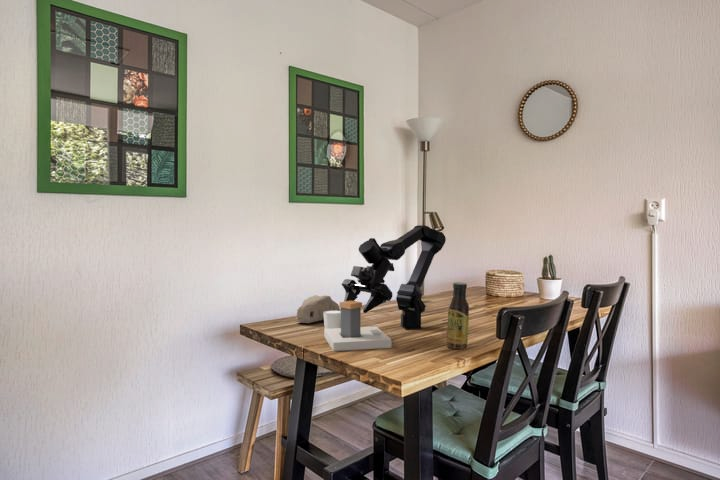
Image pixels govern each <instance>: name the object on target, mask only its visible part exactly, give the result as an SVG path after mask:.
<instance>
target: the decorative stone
mask: <svg viewBox="0 0 720 480" xmlns="http://www.w3.org/2000/svg"><path fill="white" fill-rule="evenodd" d="M330 310H337V311H341V307H340V304H339V303H337V302H336V301H334V300H333V299H332V297H331V296H329V295H313V296H309V297H307V298H306V299H304V300H303V301H302V303H301V306H299V307H298V308H297V312H296V318H295V322H297V323H302V324H312V323H316V322H320V321H324V314H323V312H325V311H330Z"/></svg>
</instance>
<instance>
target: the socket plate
mask: <svg viewBox="0 0 720 480" xmlns="http://www.w3.org/2000/svg"><path fill="white" fill-rule="evenodd" d="M323 332H324V335H323V337H324V338H325V340H326V341H327V343H328V345H329V346H330V348H331V350H332V351H333V352H339V351H340V352H341V351H358V350H370V349H371V350H372V349H389V348H391V349H392V338H391V337H389V335H387V334H386V333H385V332H383V330H381V329H379V327H377V326H360V337H354V338H342V336H341V328H333V329H325V328H324V331H323Z"/></svg>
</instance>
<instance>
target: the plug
mask: <svg viewBox="0 0 720 480" xmlns="http://www.w3.org/2000/svg"><path fill="white" fill-rule="evenodd" d="M339 307H340V311H341V336H342V338H354V337H360V327H361V324H362V323H361V322H362V321H361V319H362V317H361V315H362V313H361V308H362V307H363V302H362V301H356V300H354V301H345V302H344V301H339Z"/></svg>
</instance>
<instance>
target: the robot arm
mask: <svg viewBox="0 0 720 480" xmlns="http://www.w3.org/2000/svg"><path fill="white" fill-rule="evenodd" d="M446 240H447V239H446V236H445V234H444V233H443V232H442V231H439V230H436V229H434V228H431V227H430V226H428V225H425V224H424V225H423V224H422V225H421V224H419V225H416V226H414V227H413V228H412V229H410V230H409V231H407V232H405V233H404V234H403V235H401V236H400V237H397V238H396V239H393V240H388V241H385V242H382V243H381V244H378V242H377V240H376V238H374V237H373V238H372V237H371V238H369V239H368V240H366V241H364V242H363V243H361V244H360V245H359V246H358V252H359V254H361V255H360V256H362V257H363V259H365V261H366V262H367V263H368V264H370V265H371V266H370V265H367V266H366V267H365V266H359V265H353V267H352V270H351V273H350V276H351V277H355V278H356V279H357V280H355V279H349V278H347V279H346V278H345V279H343V281H342V283H341V286H342V287H343V289H344V290H345V295H344V300H343V302H345V301H356V300H357V299H358V295H360V294H361V292H363V293H364V292H365V293H367V294H368V293H370V297H369V298H368V300H367V302H366V304H365V305H364V308H363V310H362V313H364V314H367V313H369V312H370V311H371V310H373V309H375V308H376V307H378V306H380V305H382V304H383V303H386V302H391V300H392V298H393V292H392V291H391V289H390V287H388V285H387V284H386V283H385V282H386V281H385V277H386V276H387V274H388V272H395V267H394V263H393V262H391V261H398V260H400V259H401V258H402V257H403V256H404V255H405V253H406V250H407V249H409V248H410V247H411V246H413V245H414V244H415V243H417V242H419V241H420V245H421V252H420V255H419V257H418V259H417V261H416V263H415V265H414V268H413V269H412V273H411V274H410V277H409V280H408V281H407V283H401V284H400V285H399V288H398V291H397V292H396V303H397V304H396V305H397V309H398V310H399V311H401V313H402V314H400V327H402V328H403V329H404V330H422V329H423V326H422V314H423V313H425V312H426V307H427V306H426V304H425V303H424V301H423V300H422V296H423V295H422V294H423V293H422V286H423V283H424V281H425V279H426V276H427V274H428V271H429V269H430V266H431V264H432V262H433V259H434V257H435V255H436V254H438V253H439V252H440V251H441V250H442V248H443V247H444V245H445V244H446ZM390 260H391V261H390ZM356 281H357V282H358V283H360V284H358V283H357V282H356Z"/></svg>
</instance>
